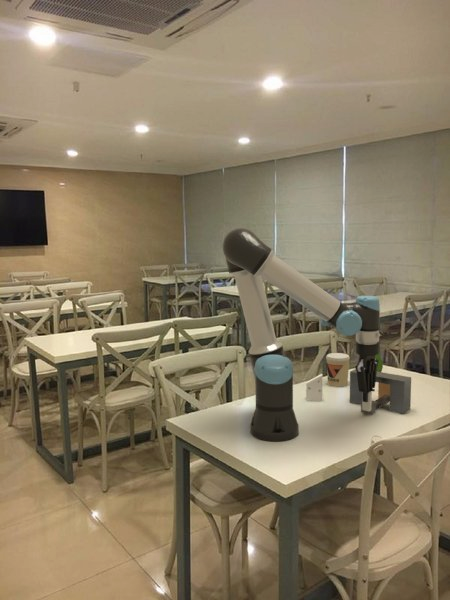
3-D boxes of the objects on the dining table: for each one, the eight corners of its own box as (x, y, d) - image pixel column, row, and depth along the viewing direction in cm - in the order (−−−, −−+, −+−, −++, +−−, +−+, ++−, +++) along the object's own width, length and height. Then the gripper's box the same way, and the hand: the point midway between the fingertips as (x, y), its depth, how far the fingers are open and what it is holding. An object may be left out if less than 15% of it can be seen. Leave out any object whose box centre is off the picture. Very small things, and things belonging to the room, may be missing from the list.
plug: (376, 416, 170) (376, 393, 169) (356, 411, 174) (357, 389, 173) (402, 398, 186) (402, 377, 185) (383, 395, 191) (384, 374, 190)
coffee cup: (321, 384, 206) (321, 355, 204) (334, 379, 212) (335, 351, 210) (340, 389, 199) (340, 359, 197) (353, 384, 205) (354, 355, 204)
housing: (403, 414, 171) (404, 381, 169) (349, 402, 184) (350, 371, 182) (410, 409, 175) (411, 377, 174) (357, 397, 188) (357, 368, 187)
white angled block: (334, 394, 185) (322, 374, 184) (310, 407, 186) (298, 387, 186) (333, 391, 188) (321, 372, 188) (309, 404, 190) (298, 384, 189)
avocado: (373, 380, 209) (374, 352, 207) (359, 376, 215) (359, 349, 214) (386, 377, 213) (387, 349, 212) (371, 373, 220) (372, 346, 218)
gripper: (369, 347, 160) (368, 418, 164) (386, 340, 170) (385, 407, 173) (347, 344, 165) (347, 413, 169) (365, 337, 175) (365, 402, 178)
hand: (366, 410), depth 171 cm, fingers closed
